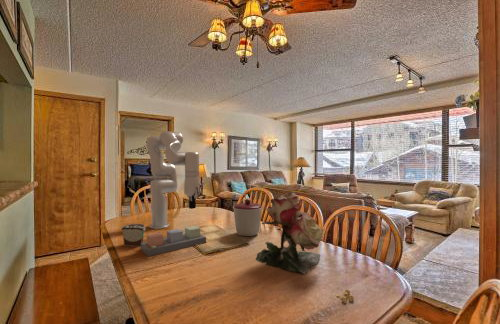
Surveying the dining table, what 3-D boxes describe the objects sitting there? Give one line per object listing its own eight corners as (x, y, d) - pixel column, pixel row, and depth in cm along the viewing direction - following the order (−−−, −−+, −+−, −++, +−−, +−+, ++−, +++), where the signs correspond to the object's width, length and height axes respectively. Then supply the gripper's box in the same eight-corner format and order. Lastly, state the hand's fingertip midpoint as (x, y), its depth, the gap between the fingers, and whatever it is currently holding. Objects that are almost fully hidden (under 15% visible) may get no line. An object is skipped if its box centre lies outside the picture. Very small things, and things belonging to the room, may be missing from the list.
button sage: (185, 236, 132) (185, 227, 132) (195, 234, 135) (195, 225, 135) (189, 239, 127) (189, 230, 127) (200, 237, 131) (200, 228, 131)
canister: (227, 236, 140) (227, 200, 140) (240, 228, 157) (240, 196, 157) (256, 240, 133) (256, 202, 133) (266, 231, 150) (266, 197, 150)
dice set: (348, 294, 81) (348, 289, 81) (357, 303, 76) (357, 297, 76) (334, 296, 80) (334, 290, 80) (342, 305, 75) (342, 299, 75)
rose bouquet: (316, 279, 91) (316, 199, 91) (250, 261, 106) (250, 193, 106) (332, 256, 112) (333, 192, 112) (276, 244, 128) (276, 187, 128)
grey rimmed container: (150, 242, 129) (150, 223, 129) (143, 246, 123) (143, 227, 123) (128, 241, 131) (128, 223, 131) (121, 245, 125) (121, 226, 124)
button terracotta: (146, 244, 119) (146, 234, 119) (159, 242, 123) (159, 232, 123) (150, 248, 114) (150, 237, 114) (163, 245, 118) (163, 235, 118)
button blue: (166, 240, 125) (166, 230, 125) (177, 238, 129) (178, 228, 129) (171, 243, 121) (171, 233, 121) (182, 241, 124) (182, 231, 124)
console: (140, 248, 120) (140, 241, 120) (195, 236, 139) (195, 230, 139) (148, 256, 111) (148, 248, 111) (206, 242, 130) (206, 235, 130)
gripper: (179, 174, 135) (180, 207, 135) (191, 175, 123) (192, 211, 123) (192, 174, 140) (192, 205, 140) (204, 174, 128) (205, 209, 128)
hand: (192, 208), depth 131 cm, fingers closed
